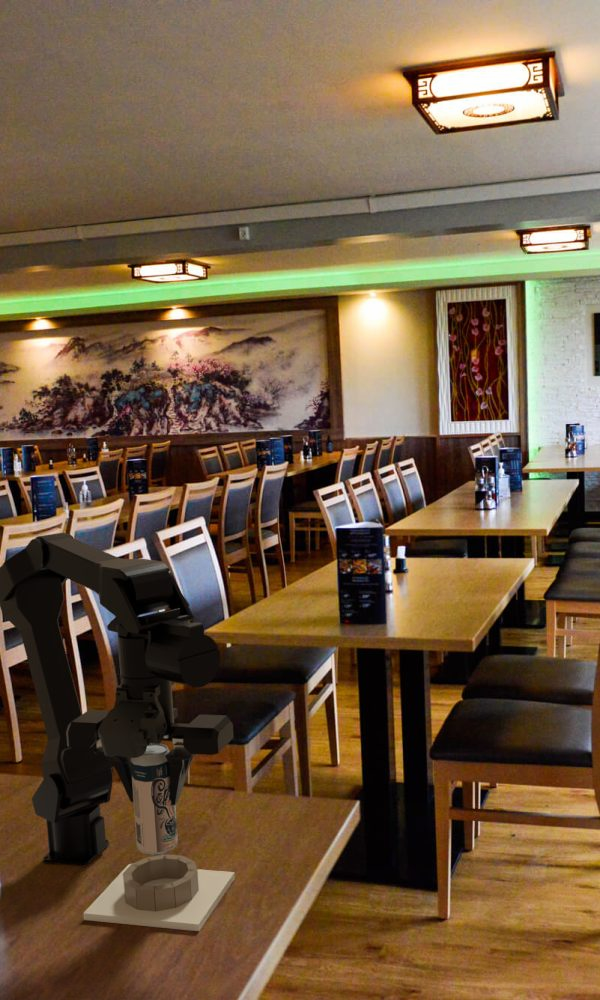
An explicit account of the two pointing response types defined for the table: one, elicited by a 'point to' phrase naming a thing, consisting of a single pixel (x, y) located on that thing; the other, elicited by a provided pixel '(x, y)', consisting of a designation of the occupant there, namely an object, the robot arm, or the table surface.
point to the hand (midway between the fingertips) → (154, 802)
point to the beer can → (153, 802)
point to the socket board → (167, 917)
